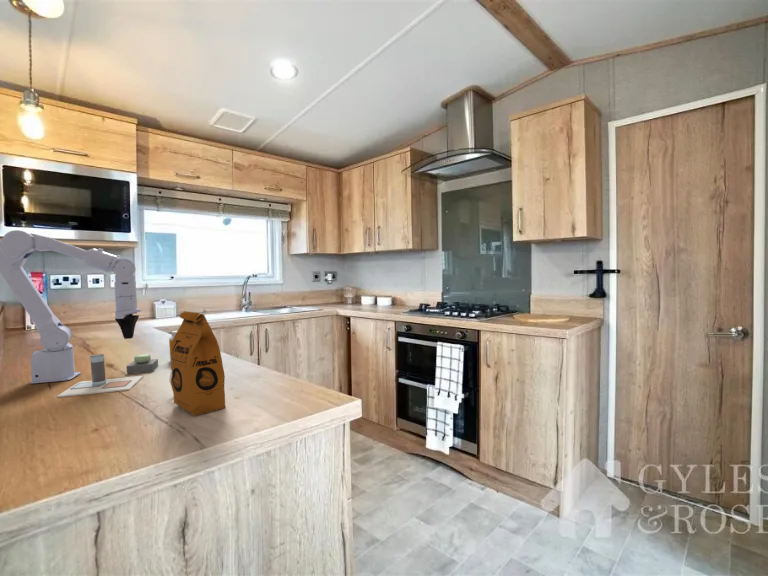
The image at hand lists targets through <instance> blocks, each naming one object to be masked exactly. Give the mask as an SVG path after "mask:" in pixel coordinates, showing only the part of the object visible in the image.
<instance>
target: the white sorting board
mask: <svg viewBox="0 0 768 576" xmlns="http://www.w3.org/2000/svg"><path fill="white" fill-rule="evenodd" d="M144 377H145V376H144V375H137V376H136V375H135V376H126V377H115V378H106V384H103V385H99V386H92V380H86V381H85V380H84V381H83V380H82V381H78V382H77V383H75V384H73V385H72V386H70V387H69V388H67V389H66V390H64V391H63V392H61V393H60V394H58V395H57V396H56V398H65V397H66V398H67V397H73V396H74V397H75V396H76V397H77V396H84V395H95V394H104V393H112V392H113V393H115V392H124V391H130V390H131V389H132V388H134V387H135V386H136V385H137V384H138V383H139V382H140V381H141V380H143V379H144Z"/></svg>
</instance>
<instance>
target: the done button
mask: <svg viewBox="0 0 768 576" xmlns="http://www.w3.org/2000/svg"><path fill="white" fill-rule="evenodd" d="M150 360H152V358H151V354H150V353H149V354H147V353H145V354H138V355H137V354H136V355H134V357H133V361H134V362H136V363H146V362H147V361H150Z"/></svg>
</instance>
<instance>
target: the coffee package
mask: <svg viewBox="0 0 768 576" xmlns="http://www.w3.org/2000/svg"><path fill="white" fill-rule="evenodd" d="M179 318H180V319H182V323H181V324H180V326H179V328H178V329H177V330H176V331H177V333H176V335H175V337H174V339H173V341H172V343H171V360H170V363H171V364H170V365H171V366H170V367H171V371H172V378H171V384H170V386H171V389H172V392H173V404H175V405H176V406H177V407H180V408H181V409H182V410H184V411H185V412H187V413H188V414H191V415H193V416H194V417H197V416H199V415H201V414H202V415H203V414H204V415H205V414H209V413H212V412H216V411H220V410H223V409H226V393H225V378H226V377H225V370H224V366H223V358H222V354H221V349H220V346H219V343H218V340H217V337H216V335H215V334H214V332H213V330H212V327H211V326H210V324H209V322H208V321H207V318H206V316H205V314H204V313H200V312H194V311H186V310H184V311H182V312H180V315H179Z"/></svg>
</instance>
